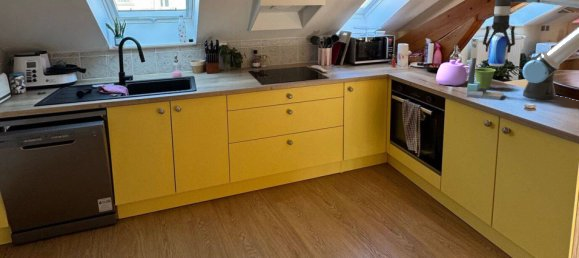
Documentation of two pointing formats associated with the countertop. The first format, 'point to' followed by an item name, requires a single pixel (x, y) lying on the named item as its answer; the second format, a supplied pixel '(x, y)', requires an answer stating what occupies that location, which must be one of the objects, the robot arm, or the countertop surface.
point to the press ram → (472, 77)
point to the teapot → (452, 73)
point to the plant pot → (484, 76)
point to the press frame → (484, 94)
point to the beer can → (497, 50)
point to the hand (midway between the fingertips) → (496, 58)
